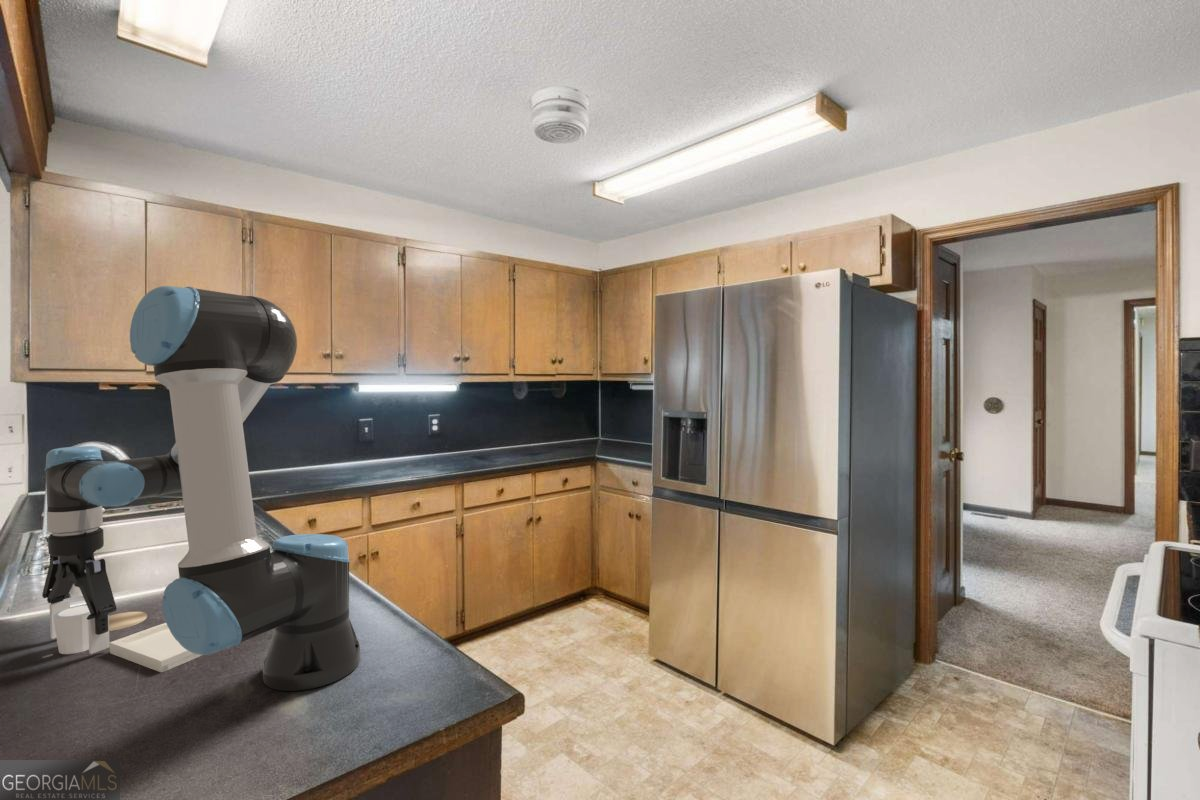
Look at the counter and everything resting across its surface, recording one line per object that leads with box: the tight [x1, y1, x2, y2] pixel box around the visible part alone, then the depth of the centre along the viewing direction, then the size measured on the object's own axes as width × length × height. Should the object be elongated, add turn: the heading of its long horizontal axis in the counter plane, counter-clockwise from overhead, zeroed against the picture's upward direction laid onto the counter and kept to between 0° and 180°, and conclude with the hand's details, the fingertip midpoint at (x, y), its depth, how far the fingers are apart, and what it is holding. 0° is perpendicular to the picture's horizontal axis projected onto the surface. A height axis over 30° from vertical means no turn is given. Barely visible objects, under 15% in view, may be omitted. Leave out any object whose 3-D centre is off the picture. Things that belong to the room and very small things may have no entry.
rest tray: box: [109, 622, 203, 674], centre depth 105 cm, size 16×12×2 cm
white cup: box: [53, 603, 90, 655], centre depth 105 cm, size 7×7×7 cm
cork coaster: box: [109, 611, 148, 632], centre depth 115 cm, size 9×9×1 cm
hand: (79, 642), depth 105 cm, fingers open, 13 cm apart
